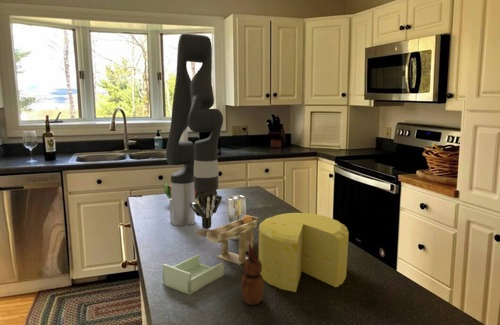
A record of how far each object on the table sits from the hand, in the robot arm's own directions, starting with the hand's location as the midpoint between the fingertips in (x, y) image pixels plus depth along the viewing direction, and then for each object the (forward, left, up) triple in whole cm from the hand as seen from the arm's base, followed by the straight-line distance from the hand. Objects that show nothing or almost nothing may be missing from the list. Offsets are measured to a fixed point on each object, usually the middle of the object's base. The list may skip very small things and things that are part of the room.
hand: (206, 227), depth 126 cm
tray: (+6, -13, -11) cm, 18 cm away
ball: (+6, +13, 0) cm, 15 cm away
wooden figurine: (+26, -12, -11) cm, 31 cm away
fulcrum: (+6, +9, -10) cm, 15 cm away
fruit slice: (-51, +46, -11) cm, 69 cm away
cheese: (+28, +11, -11) cm, 32 cm away
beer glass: (-5, +22, -11) cm, 24 cm away
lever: (+3, +5, -2) cm, 7 cm away
